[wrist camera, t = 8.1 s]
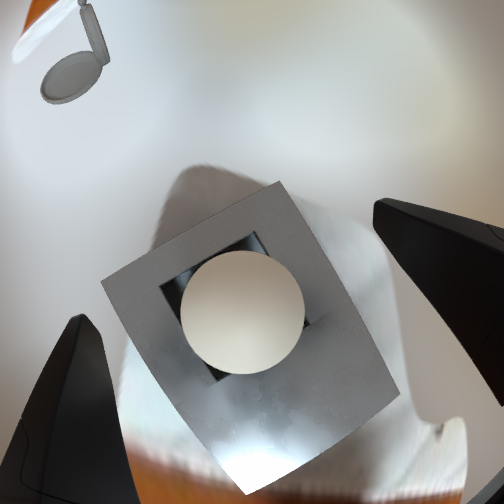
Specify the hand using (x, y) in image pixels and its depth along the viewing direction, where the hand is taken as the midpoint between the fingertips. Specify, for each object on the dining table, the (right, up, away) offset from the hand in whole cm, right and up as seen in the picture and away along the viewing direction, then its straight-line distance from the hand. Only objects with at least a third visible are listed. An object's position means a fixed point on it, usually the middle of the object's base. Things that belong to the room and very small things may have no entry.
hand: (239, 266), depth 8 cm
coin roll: (-1, -3, +12) cm, 13 cm away
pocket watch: (-16, +17, +14) cm, 27 cm away
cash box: (+1, -6, +12) cm, 13 cm away
